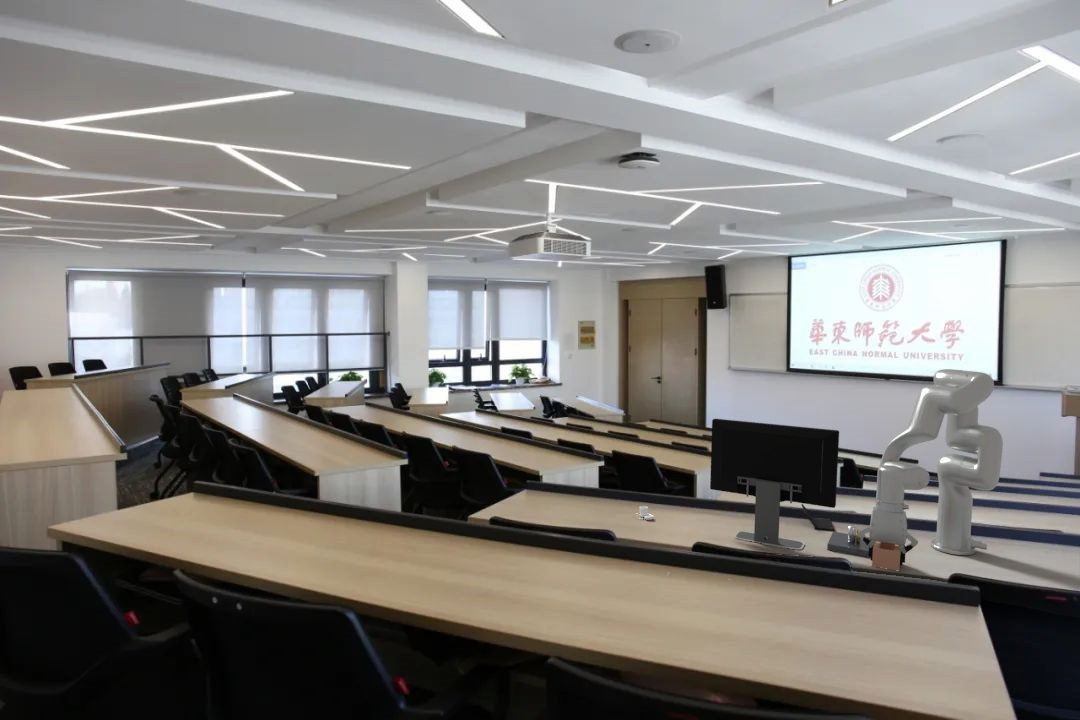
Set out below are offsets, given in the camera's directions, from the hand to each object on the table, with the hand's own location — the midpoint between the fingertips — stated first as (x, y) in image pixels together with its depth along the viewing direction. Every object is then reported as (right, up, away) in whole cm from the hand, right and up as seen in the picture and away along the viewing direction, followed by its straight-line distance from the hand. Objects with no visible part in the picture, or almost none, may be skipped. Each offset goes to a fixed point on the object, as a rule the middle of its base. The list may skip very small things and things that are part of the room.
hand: (886, 561), depth 206 cm
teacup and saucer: (-70, +2, +43) cm, 82 cm away
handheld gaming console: (-6, +2, +37) cm, 38 cm away
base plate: (-4, 0, +15) cm, 16 cm away
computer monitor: (-30, +1, +21) cm, 36 cm away
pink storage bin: (0, -1, 0) cm, 1 cm away
